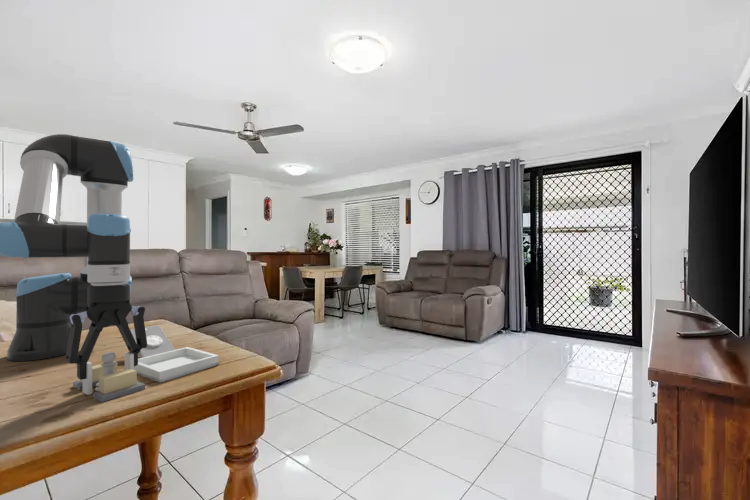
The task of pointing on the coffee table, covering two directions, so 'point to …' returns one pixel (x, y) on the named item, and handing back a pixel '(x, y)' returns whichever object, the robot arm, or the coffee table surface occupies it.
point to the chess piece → (107, 365)
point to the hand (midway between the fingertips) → (109, 386)
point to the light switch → (154, 341)
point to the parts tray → (175, 363)
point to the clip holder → (112, 383)
